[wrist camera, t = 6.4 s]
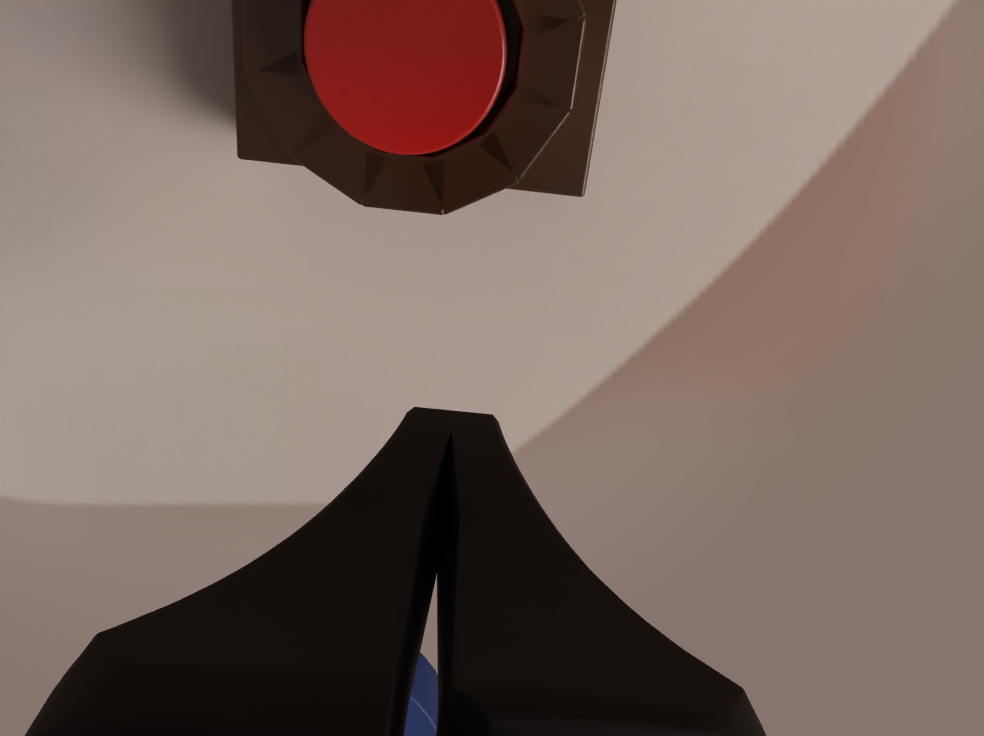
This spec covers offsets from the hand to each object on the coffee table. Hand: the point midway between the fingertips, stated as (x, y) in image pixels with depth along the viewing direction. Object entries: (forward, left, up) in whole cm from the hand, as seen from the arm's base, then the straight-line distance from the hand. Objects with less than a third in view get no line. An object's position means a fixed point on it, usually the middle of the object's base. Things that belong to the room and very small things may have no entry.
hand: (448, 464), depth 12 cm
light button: (+5, +1, -6) cm, 9 cm away
